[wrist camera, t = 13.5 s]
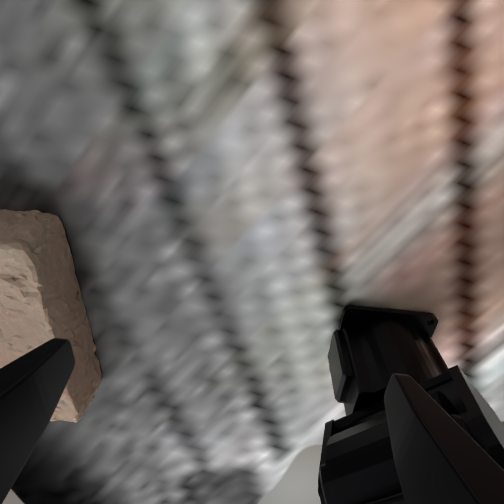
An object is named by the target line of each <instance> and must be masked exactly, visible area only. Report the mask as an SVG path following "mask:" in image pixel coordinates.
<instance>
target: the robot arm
mask: <svg viewBox="0 0 504 504" xmlns="http://www.w3.org/2000/svg"><path fill="white" fill-rule="evenodd" d="M351 311H352V312H353V313H351V314H349V312H351ZM431 319H432V320H431ZM428 320H431V321H428ZM437 324H438V319H437V318H436V316H435V315H434V314H432V313H425V312H415V311H405V310H395V309H385V308H375V307H365V306H355V305H348V306H346V307H345V308H344V309H343V313H342V317H341V321H340V325H339V329H338V330H336V331H335V332H334V333H333V337H332V341H331V345H330V349H329V353H328V360H329V367H330V372H331V377H332V383H333V389H334V395H335V399H336V400H337V401H338V402H340V403H344V407H345V412H346V416H345V417H342V418H340V419H338V420H336V421H334V420H331V421H329V422H327V423H325V430H324V438H323V445H322V453H321V461H320V468H319V477H318V493H319V496H320V500H321V504H504V426H503V424H502V423H501V421H500V420H499V418H498V417H497V415H496V414H495V412H494V411H493V409H492V408H491V407H490V406H489V404H488V403H487V402H486V400H485V399H484V398H483V397H482V395H481V394H480V393H479V392H478V390H477V389H476V388H475V387H474V385H473V384H472V383H471V382H470V380H469V379H468V378H467V377H466V375H465V374H464V373H463V372H462V370H461V369H460V368H459V366H458V365H456V366H454V367H452V368H449V369H448V367H447V365H446V364H445V362H444V360H443V358H442V356H441V355H440V353H439V351H438V349H437V348H436V346H435V344H434V342H433V341H432V339H431V337H432V335H433V333H434V331H435V328H436V326H437ZM74 366H75V357H74V353H73V349H72V345H71V342H70V341H69V340H68V339H62V338H53V339H51V340H49V341H47V342H45V343H44V344H42V345H40V346H38V347H37V348H35V349H33V350H31V351H30V352H28V353H26V354H24V355H23V356H21V357H19V358H17V359H16V360H14V361H12V362H10V363H9V364H7V365H5V366H4V367H2V368H0V504H2V503H3V500H4V499H5V497H6V496H7V494H8V492H9V491H10V489H11V487H12V485H13V484H14V482H15V480H16V479H17V477H18V475H19V473H20V472H21V470H22V468H23V466H24V465H25V463H26V461H27V460H28V458H29V456H30V454H31V453H32V451H33V449H34V448H35V446H36V444H37V442H38V441H39V439H40V437H41V435H42V434H43V432H44V430H45V429H46V427H47V425H48V423H49V421H50V419H51V417H52V415H53V413H54V411H55V409H56V407H57V404H58V402H59V400H60V398H61V396H62V394H63V391H64V389H65V387H66V385H67V383H68V380H69V378H70V376H71V374H72V372H73V369H74Z"/></svg>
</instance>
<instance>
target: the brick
mask: <svg viewBox="0 0 504 504" xmlns="http://www.w3.org/2000/svg"><path fill="white" fill-rule="evenodd" d="M53 338H62V339H68V340H69V341H70V342H71V345H72V349H73V353H74V357H75V366H74V369H73V372H72V374H71V376H70V378H69V380H68V383H67V385H66V387H65V389H64V391H63V394H62V396H61V398H60V400H59V402H58V404H57V407H56V409H55V411H54V413H53V415H52V417H51V419H50V421H55V420H63V421H70V422H75V423H77V422H78V421H79V420H80V419H81V418H82V417H83V415H84V413H85V410H86V409H87V407H88V406H89V404H90V403H91V402H92V399H93V398H94V395H95V393H96V391H97V389H98V387H99V385H100V383H101V375H102V374H101V370H100V365H99V360H98V358H97V356H96V355H95V354H94V353H95V351H96V345H95V344H94V342H93V336H92V332H91V328H90V325H89V319H88V317H87V315H86V309H85V306H84V303H83V300H82V297H81V292H80V288H79V283H78V281H77V278H76V275H75V269H74V263H73V258H72V254H71V251H70V247H69V244H68V241H67V238H66V234H65V230H64V227H63V224H62V221H61V220H60V219H59V217H58V216H56V215H53V214H50V213H42V212H40V211H37V210H32V211H25V212H24V211H10V210H6V209H4V210H1V209H0V368H2V367H4V366H5V365H7V364H9V363H10V362H12V361H14V360H16V359H17V358H19V357H21V356H23V355H24V354H26V353H28V352H30V351H31V350H33V349H35V348H37V347H38V346H40V345H42V344H44V343H45V342H47V341H49V340H51V339H53Z"/></svg>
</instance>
